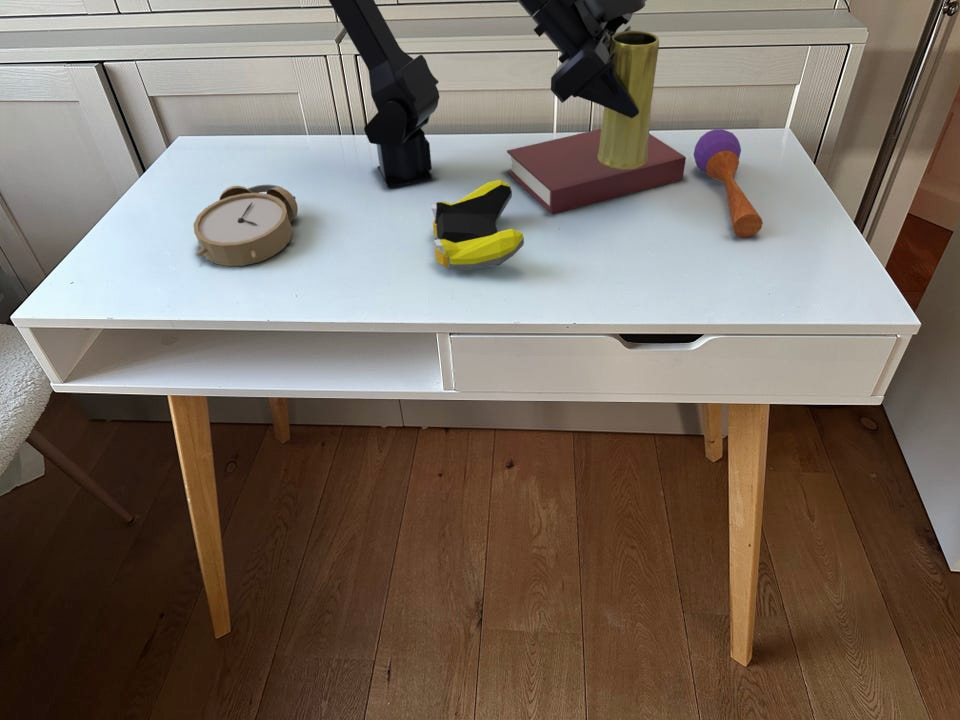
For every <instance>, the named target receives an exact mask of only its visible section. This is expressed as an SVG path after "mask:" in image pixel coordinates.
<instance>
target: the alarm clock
mask: <svg viewBox="0 0 960 720" xmlns="http://www.w3.org/2000/svg"><path fill="white" fill-rule="evenodd" d="M298 209H299V208H298V203H297V200H296V196H295V195H293V194H292V193H291V192H289V190H287V189H285V188H284V187H282V186H279V185H275V184H259V185H258V184H257V185H254V186H251V187H248V188H247V187H245V186H243V185H232V186H229V187H227V188H225V189H224V190H223V191H222V192H221V194H220V196H219V199H218V200H217V201H215V202H213V203H211V204H210V205H208V206H207V207H205V208H204V209H202V211H201V212H199V214H198V215H197V217H196V218H195V220H194V222H193V225H192V226H193V233H194V235H195V236H196V239H197V241H198V244H199V247H200V249H199V250H198V251H197V252H196V253H195V255H196V256H197V257H200V256H202V255H203V256H205V258H206V259H207V260H208V261H210V262H212V263H214V264H216V265H220V266H226V267H240V266H241V267H242V266H248V265H252V264H257V263H260V262H263V261H265V260H267V259H269V258H272V257H274V256H275V255H277V254H278V253H280V252H281V251H283V250H284V249H285V248H286V246H287V245H288V244H289V242H290V241H291V240H292V236H293V233H294V231H293V227H292V223H291V222H293V221H294V220H295V218H297V215H298V211H299V210H298Z"/></svg>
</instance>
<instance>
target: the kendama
mask: <svg viewBox="0 0 960 720" xmlns="http://www.w3.org/2000/svg"><path fill="white" fill-rule="evenodd" d="M741 153H742V148H741V143H740V141H739V139H738V138H737V136H736V135H735V133H733V132H731V131H728V130H726V129H722V128H719V129H717V128H715V129H711V130H709V131H706V132H705V133H704V134H703V135H702V136H700V137H699V139H698V141H697V142H696V144H695V147H694V151H693V158H694V161H695V162H694V163H695V164H696V167H697V168H698V169H699V170H700V171H701V172H702V173H704V174H706V175H708V176H709V177H710V178H711V179H714V180H717V181H720V182H722V183H724V187H725V193H726V198H727V203H728V208H729V209H728V210H729V214H730V221H731V225H732V230H733V233H734V235H736V236H737V237H739V238H745V239H746V238H750V237H753V236H756V234H758V233H759V232H760V231H761V230H762V227H763V224H764V223H763V219H762V217H761V216H760V215H759V212H758V211H757V210H756V209H755V207H754V206H753V204H752V203H751V201H750V200H749V198H748V197H747V196H746V194H745V193H744V191H743V190H742V188H741V187H740V185H738V183H737V182H736V180H735V176H736V173H737V170H738V168H739V164H740V156H741Z"/></svg>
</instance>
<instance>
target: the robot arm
mask: <svg viewBox="0 0 960 720" xmlns="http://www.w3.org/2000/svg"><path fill="white" fill-rule="evenodd" d="M516 1H517V2H518V4H519V5H520V6H521V7H522V8H523V9H524V11H525V12H526V13H527V15H528V16H529V17H530V18H531V19H532V20H533V21H534V22H535V24H536V26H535V27H534V29H533V31H534V33H535V34H536V35H537V36H538V37H539V38H540V37H542V36H543V34H545V36H546V37H547V38H548V40H549V41H551V43H552V44H553V45H554V46H555V47H556V49H557V50H558V51H559V53H560V55H559V57H558V58H557V60H558V61H559V63H561V64H560V65H559V66H558V67H557V68H556V70H555V71H554V72H553V74H552V75H551V77H550V91H551V93H552V94H554V96H555V97H556V98H557V99H558V100H559V101H560V102H561V103H564V102H566V101H567V100H568V99H570V98H571V97H573V98H577V97H578V98H580V99H583V100H586V101H589V102H592V103H595V104H596V105H599V106H602V107H604V106H605V107H607V108H609V109H611V110H614V111H616V112H618V113H621V114H623V115H625V116H627V117H630V118H634V117H635V116H636V115H638V114H639V109H638V107H637V106H636V104H635V102H634V100H633V98H632V97H631V95H630V94H629V92H628V90H627V89H626V87H625V85H624V84H623V82H622V80H621V79H620V77H619V75H618V74H617V72H616V65H617V51H616V52H615V53H614V54H613V55H612V56H611V57H610V49H611V38H612V36H613V35H614V34H616V33H620V31H619V28H620V27H621V26H622V25H625V26H626V25H627V24H628V23H629V22H630V21H631V19H632V18H633V14H635V13H637V12H639V11H641V10H642V9H643V8H645V6H646V2H647V1H648V0H516ZM328 2H329V4H330V5H331V7H332V9H333V11H334V12H335V14H336V16H337V18H338V19H339V21H340V23H341V25H342V26H343V29H344V30H345V31H346V34H347V35H348V37H349V39H350V41H351V42H352V44H353V45H354V47H355V49H356V51H357V52H358V54H359V56H360V57H361V59H362V62H363V63H364V64H365V66H366V69H367V72H368V77H369V78H368V79H369V86H370V95H371V98H372V101H373V103H374V106H375V108H376V110H377V113H376V114H375V115H374V116H373V117H372V118H371V120H369V122H368V123H367V124H366V125H365V126H364V127H363V131H364V133H365V136H366V138H367V140H368V142H369V143H370V144H372V145H376V151H377V157H378V164H379V165H377V172H378V174H379V176H380V177H381V179H382V181H383V183H384V184H385V187H386V188H387V189H392V188H397V187H402V186H408V185H411V184H418V183H422V182H427V181H431V180H433V175H432V174H431V170H432V169H433V167H432V158H431V157H432V155H431V146H430V142H429V140H428V139H427V137H426V134H425V131H424V130H423V129H422V128H423V127H424V126H426V125H428V123H429V120H430V117H431V115H433V113H435V112H436V109H438V104H439V100H440V92H439V90H438V86H437V85H438V84H439V80H438V79H437V78H436V77H435V76H434V75H433V73H432V72H431V70H430V67H429V65H428V62H427V60H426V57H424V55H423V54H419V55H418V56H416V57H414V58H413V57H412V56H410V55H409V54H407V52H405V51H404V50H403V49H402V48H401V47H400V45H399V43H398V42H397V40H396V38H395V35H394V34H393V32H392V30H391V28H390V27H389V25H388V23H387V21H386V19H385V18H384V16H383V14H382V12H381V11H380V8H379V7H378V5H377V3H376V1H375V0H328ZM624 31H632V27H631V25H629V26H627V27H626V28H625V29H624V30H623V31H622V32H624Z"/></svg>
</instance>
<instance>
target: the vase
mask: <svg viewBox="0 0 960 720" xmlns="http://www.w3.org/2000/svg"><path fill="white" fill-rule="evenodd" d="M623 31H624V30H623ZM623 31H619V33H616V34H614V35H613V36H612V38H611V49H610V57H611V56H612V55H613V54H614V53H615V52H616V51H617V65H616V72H617V74H618V75H619V77H620V79H621V80H622V82H623V84H624V85H625V87H626V89H627V90H628V92H629V94H630V95H631V97H632V98H633V100H634V102H635V104H636V106H637V107H638V109H639V114H638V115H636V116H635V117H634V118H630V117H627V116H625V115H623V114H621V113H618V112H616V111H614V110H611V109H609V108H607V107H605V106H603V113H602V120H601V128H600V129H601V136H600V147H599V153H598V156H597V158H598V160H599V161H600V163H602V164H603V165H605V166H607V167H610V168H613V169H621V170H627V169H635V168H638V167H641V166H643V165H644V164H645V163H646V162H647V160H648V144H649V134H650V129H651V113H652V111H651V109H652V100H653V93H654V87H655V77H656V69H657V63H658V54H659V48H660V38H659V37H658V35H657V34H654V33H652V32H649V31H643V30H631V31H624V32H623Z"/></svg>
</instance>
